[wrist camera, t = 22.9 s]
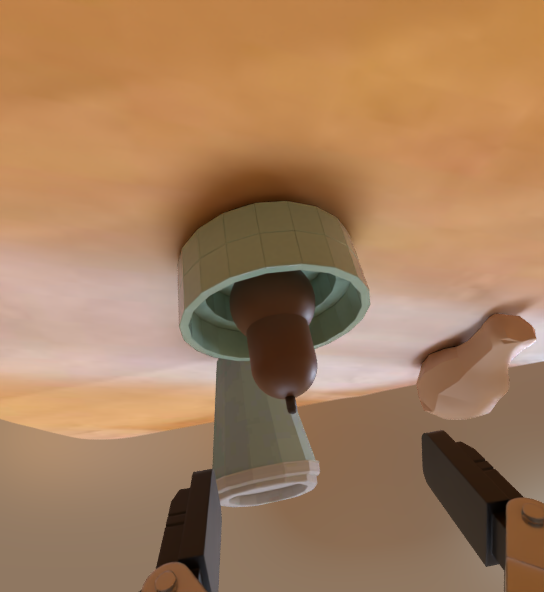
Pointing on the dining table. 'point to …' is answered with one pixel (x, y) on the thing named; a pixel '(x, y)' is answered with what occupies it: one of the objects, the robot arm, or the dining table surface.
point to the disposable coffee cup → (257, 442)
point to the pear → (277, 332)
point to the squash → (473, 369)
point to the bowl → (267, 259)
